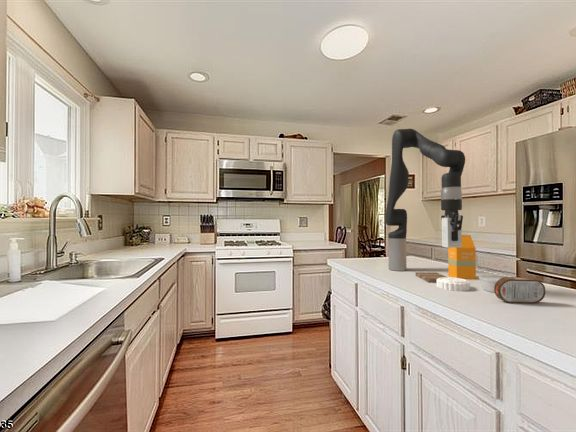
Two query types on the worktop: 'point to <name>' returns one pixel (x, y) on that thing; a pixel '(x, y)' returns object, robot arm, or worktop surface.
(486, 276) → the ramekin
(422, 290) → the worktop surface
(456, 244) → the skincare box
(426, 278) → the walnut board
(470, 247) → the orange juice
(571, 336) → the worktop surface
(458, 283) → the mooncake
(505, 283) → the tin
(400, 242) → the robot arm
